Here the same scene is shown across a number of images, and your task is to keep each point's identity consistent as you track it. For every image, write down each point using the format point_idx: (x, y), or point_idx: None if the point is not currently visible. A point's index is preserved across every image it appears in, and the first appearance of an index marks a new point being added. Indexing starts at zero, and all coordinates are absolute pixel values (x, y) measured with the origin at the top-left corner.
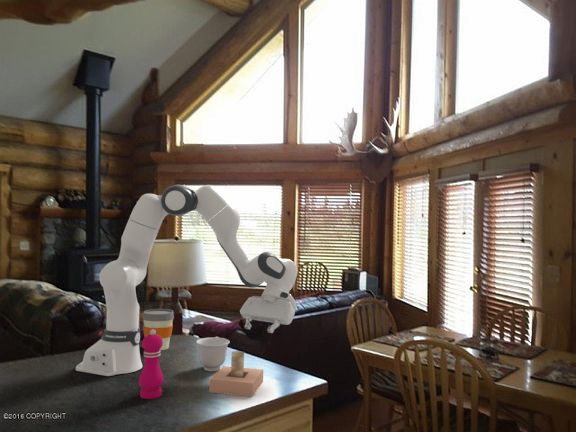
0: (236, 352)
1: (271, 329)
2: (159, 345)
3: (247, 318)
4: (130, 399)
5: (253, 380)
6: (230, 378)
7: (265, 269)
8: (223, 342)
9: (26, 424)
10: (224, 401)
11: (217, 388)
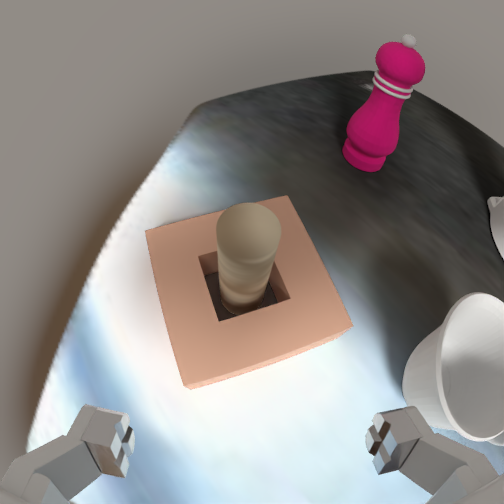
0: (256, 226)
1: (81, 417)
2: (377, 58)
3: (461, 460)
4: None
5: (154, 251)
6: None
7: None
8: (478, 428)
9: (367, 74)
10: (204, 192)
11: None
